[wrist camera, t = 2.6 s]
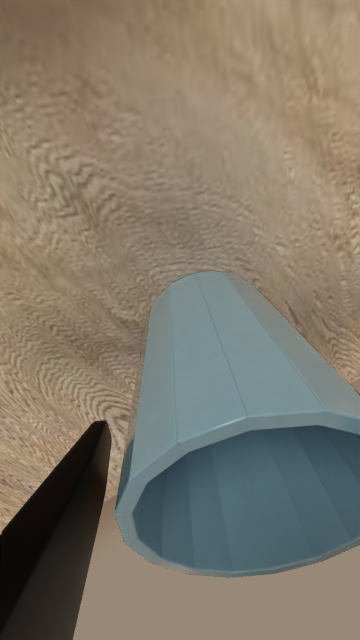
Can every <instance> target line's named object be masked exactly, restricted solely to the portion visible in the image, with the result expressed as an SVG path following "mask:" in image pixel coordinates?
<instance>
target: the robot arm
mask: <svg viewBox="0 0 360 640" xmlns="http://www.w3.org/2000/svg"><path fill="white" fill-rule="evenodd" d="M111 441H112V440H111V433H110V430H109V426H108V423H107V421H105V420H102V421H95V422H93V423H92V424H91V425H90V427H89V428H88V429H87V430H86V431H85V433H84V434H83V435H82V436H81V437H80V439H79V440H78V441H77V442H76V443H75V445H74V446H73V447H72V448H71V449H70V451H69V452H68V453H67V454H66V455H65V457H64V458H63V459H62V460H61V461H60V463H59V464H58V465H57V466H56V467H55V469H54V470H53V471H52V472H51V473H50V474H49V476H48V477H47V478H46V479H45V480H44V482H43V483H42V484H41V485H40V486H39V488H38V489H37V490H36V491H35V492H34V494H33V495H32V496H31V497H30V498H29V500H28V501H27V502H26V503H25V504H24V506H23V507H22V508H21V509H20V510H19V512H18V513H17V514H16V515H15V516H14V518H13V519H12V520H11V521H10V522H9V524H8V525H7V526H6V527H5V528H4V529H3V531H2V533H1V535H0V640H73V636H74V631H75V627H76V622H77V618H78V613H79V609H80V604H81V600H82V595H83V591H84V586H85V582H86V577H87V573H88V568H89V564H90V559H91V555H92V551H93V546H94V542H95V537H96V533H97V528H98V524H99V519H100V515H101V510H102V506H103V501H104V496H105V491H106V484H107V476H108V467H109V459H110V451H111Z"/></svg>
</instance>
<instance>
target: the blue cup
mask: <svg viewBox="0 0 360 640" xmlns="http://www.w3.org/2000/svg"><path fill="white" fill-rule="evenodd" d="M115 516H116V519H117V522H118V525H119V528H120V531H121V534H122V537H123V540H124V542H125V544H126V545H128V546H129V547H130V548H132V549H133V550H134V551H136V552H137V553H138V554H140V555H141V556H142V557H144V558H145V559H146V560H148V561H149V562H150V563H152V564H156V565H159V566H162V567H165V568H169V569H172V570H175V571H178V572H182V573H185V574H189V575H201V576H214V577H227V578H229V577H243V576H254V575H265V574H274V573H279V572H283V571H287V570H291V569H295V568H299V567H303V566H307V565H311V564H315V563H318V562H322V561H324V560H326V559H329V558H331V557H333V556H336V555H338V554H340V553H342V552H345V551H347V550H349V549H351V548H354V547H356V546H358V545H360V394H359V393H358V392H357V391H356V390H355V389H354V388H353V387H352V386H351V385H350V383H349V382H348V381H347V380H346V379H345V378H344V377H343V376H342V375H341V374H340V373H339V372H338V371H337V370H336V369H335V368H334V367H333V366H332V365H331V364H330V363H329V362H328V361H327V360H326V359H325V358H324V357H323V356H322V355H321V354H320V353H319V352H318V351H317V350H316V349H315V348H314V347H313V346H312V345H311V344H310V343H309V342H308V341H307V340H306V338H305V337H304V336H303V335H302V334H301V333H300V332H299V331H298V330H297V329H296V328H295V327H294V326H293V325H292V324H291V323H290V322H289V321H288V320H287V319H286V318H285V317H284V316H283V315H282V314H281V313H280V312H279V311H278V310H277V309H276V308H275V307H274V306H273V305H272V304H271V303H270V302H269V301H268V300H267V299H266V298H265V297H264V296H263V295H262V294H261V293H260V292H259V291H258V290H257V289H256V288H255V287H254V286H253V285H252V284H251V283H250V282H248V281H246V280H245V279H243V278H241V277H239V276H236V275H234V274H230V273H227V272H220V271H206V272H199V273H195V274H191V275H188V276H186V277H183V278H181V279H179V280H177V281H176V282H174V283H172V284H171V285H170V286H168V287H167V288H166V289H165V290H164V291H163V292H162V293H161V294H160V295H159V296H158V298H157V299H156V300H155V302H154V303H153V305H152V307H151V309H150V312H149V314H148V318H147V322H146V326H145V329H144V334H143V340H142V346H141V353H140V359H139V365H138V371H137V377H136V383H135V390H134V396H133V402H132V408H131V414H130V421H129V427H128V433H127V439H126V445H125V452H124V458H123V464H122V470H121V476H120V483H119V489H118V495H117V501H116V507H115Z"/></svg>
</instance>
